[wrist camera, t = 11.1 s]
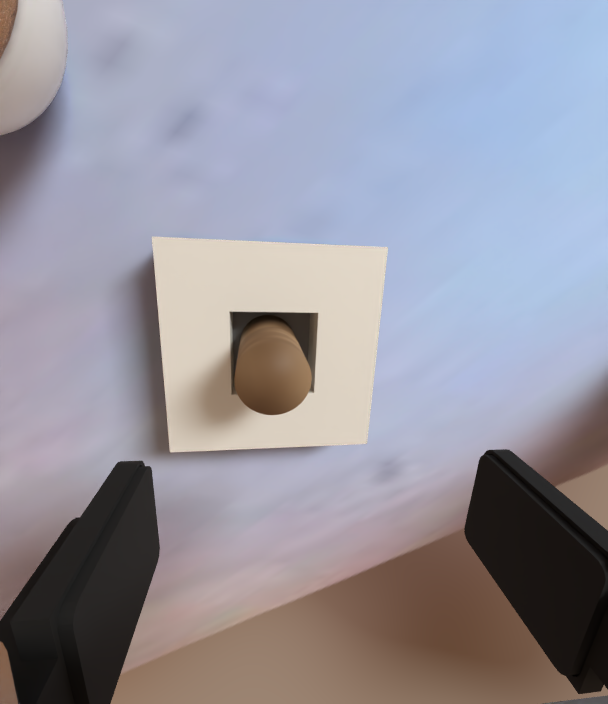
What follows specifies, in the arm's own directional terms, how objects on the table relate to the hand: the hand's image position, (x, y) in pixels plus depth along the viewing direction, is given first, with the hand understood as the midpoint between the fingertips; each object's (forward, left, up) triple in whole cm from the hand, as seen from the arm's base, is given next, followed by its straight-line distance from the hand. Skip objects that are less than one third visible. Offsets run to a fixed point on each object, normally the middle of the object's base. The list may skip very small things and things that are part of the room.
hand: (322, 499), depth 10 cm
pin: (+1, 0, -17) cm, 17 cm away
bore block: (+1, 0, -18) cm, 18 cm away
